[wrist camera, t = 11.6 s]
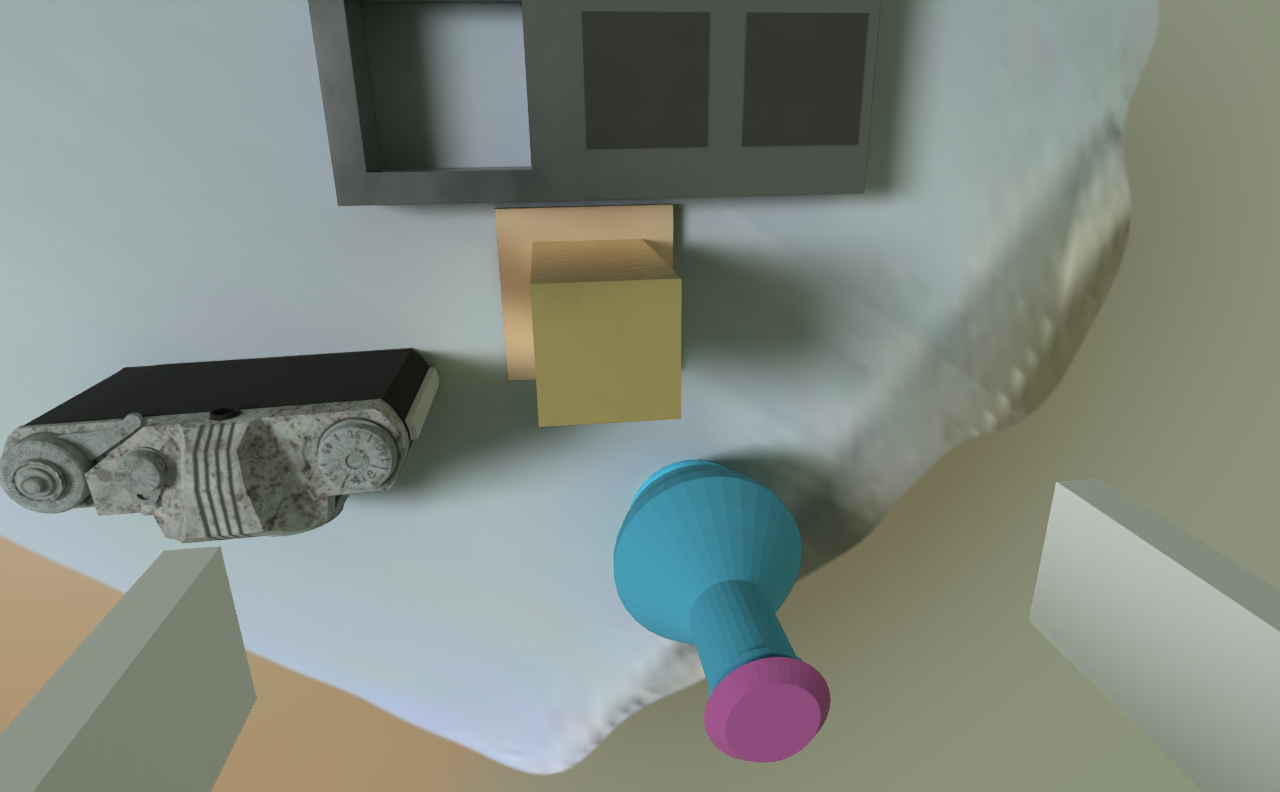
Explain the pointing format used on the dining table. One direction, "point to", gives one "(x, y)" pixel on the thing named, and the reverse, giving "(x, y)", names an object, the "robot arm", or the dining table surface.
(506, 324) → the cork mat
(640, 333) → the block
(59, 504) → the camera
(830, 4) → the grey slotted tray
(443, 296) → the dining table surface
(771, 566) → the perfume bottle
